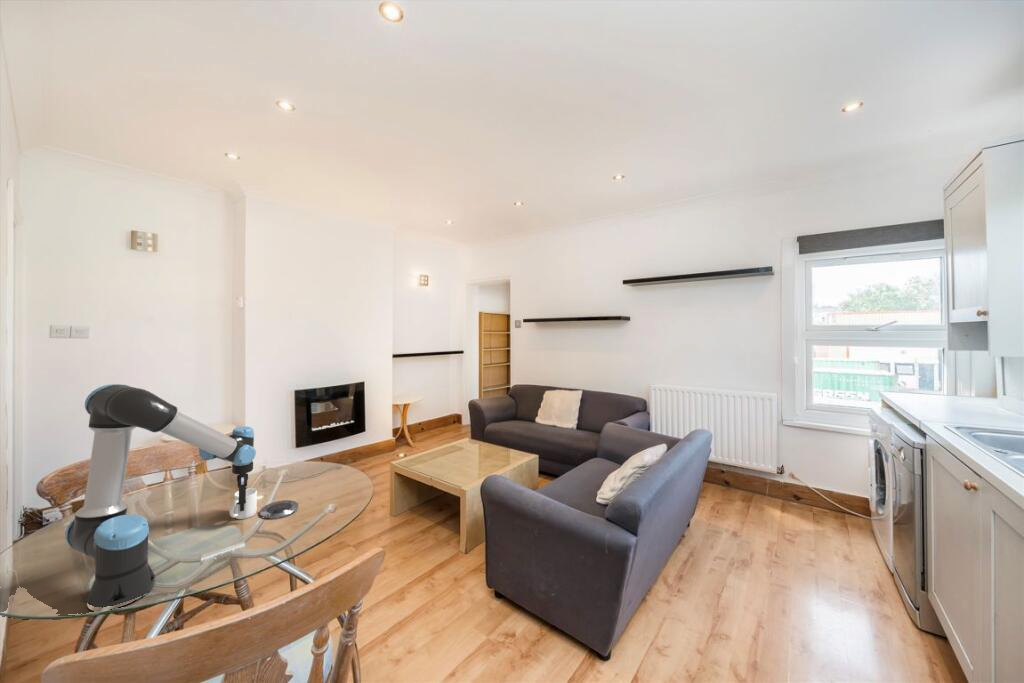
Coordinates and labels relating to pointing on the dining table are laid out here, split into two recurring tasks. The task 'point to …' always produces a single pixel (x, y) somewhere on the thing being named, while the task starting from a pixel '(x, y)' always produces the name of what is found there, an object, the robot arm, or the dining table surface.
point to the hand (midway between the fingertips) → (242, 511)
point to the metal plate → (279, 509)
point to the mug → (250, 504)
